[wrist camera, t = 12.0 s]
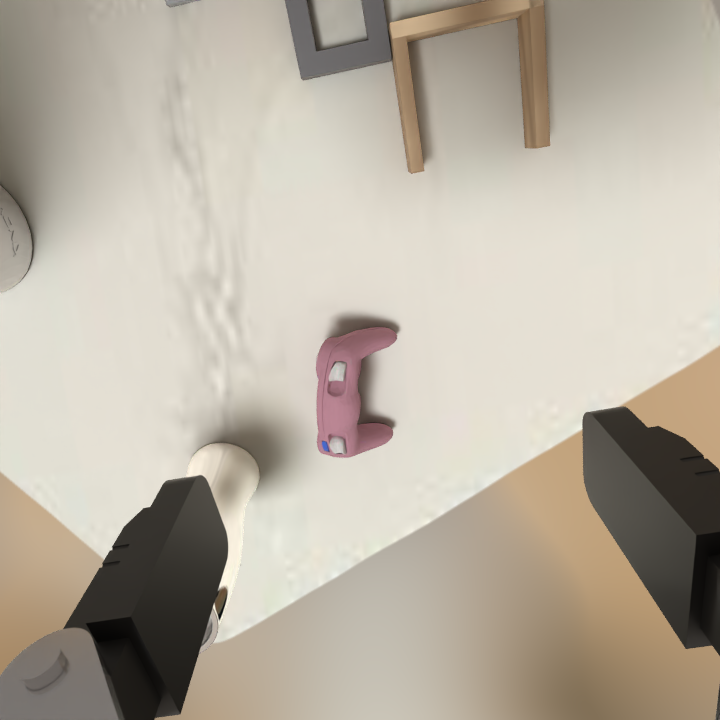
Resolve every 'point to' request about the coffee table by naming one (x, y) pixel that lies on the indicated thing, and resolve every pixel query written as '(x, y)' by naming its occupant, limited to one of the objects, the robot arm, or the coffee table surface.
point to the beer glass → (226, 512)
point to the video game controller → (347, 393)
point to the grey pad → (178, 2)
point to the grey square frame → (342, 56)
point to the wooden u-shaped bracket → (501, 6)
